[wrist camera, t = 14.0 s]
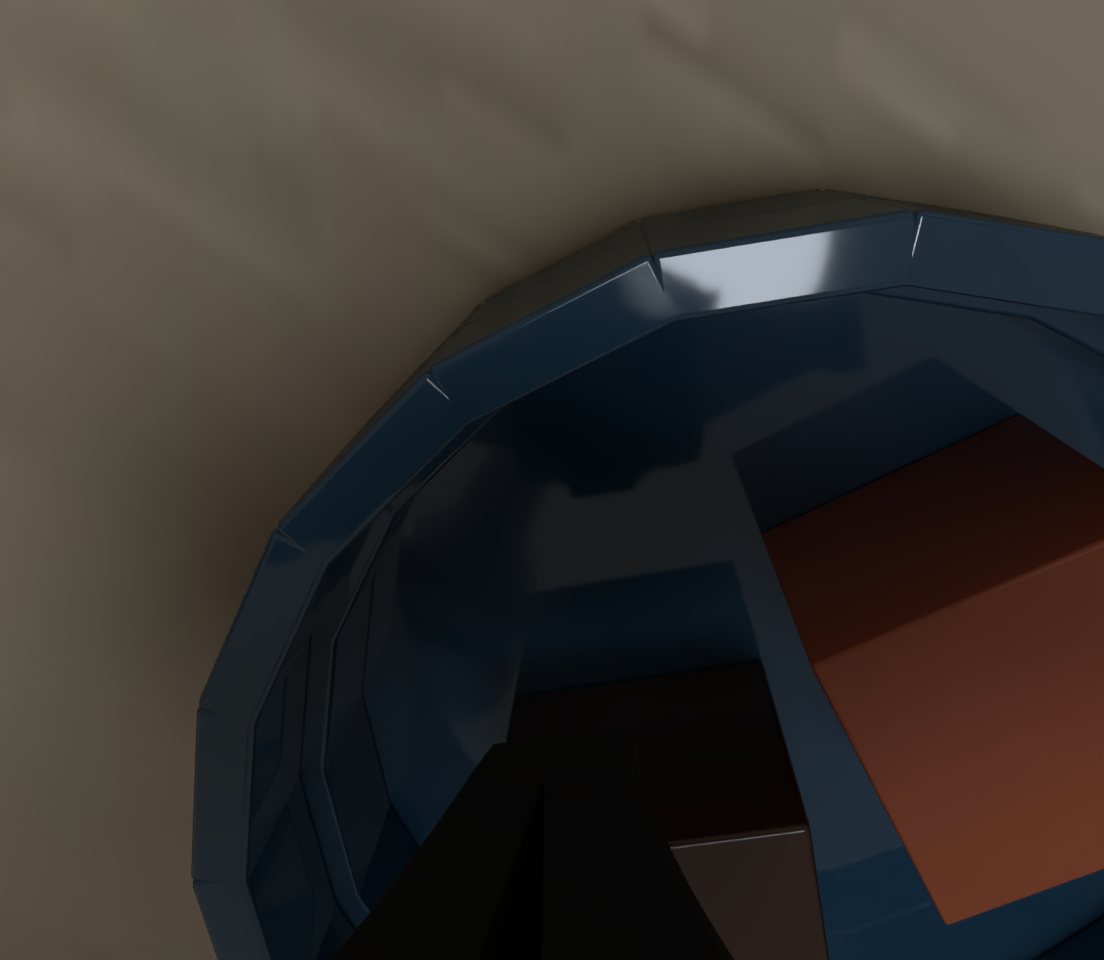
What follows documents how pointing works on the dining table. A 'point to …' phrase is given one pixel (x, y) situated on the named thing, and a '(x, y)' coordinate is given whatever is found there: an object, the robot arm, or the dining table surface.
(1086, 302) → the teal bowl
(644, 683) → the walnut block
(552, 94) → the dining table surface
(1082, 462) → the terracotta block
